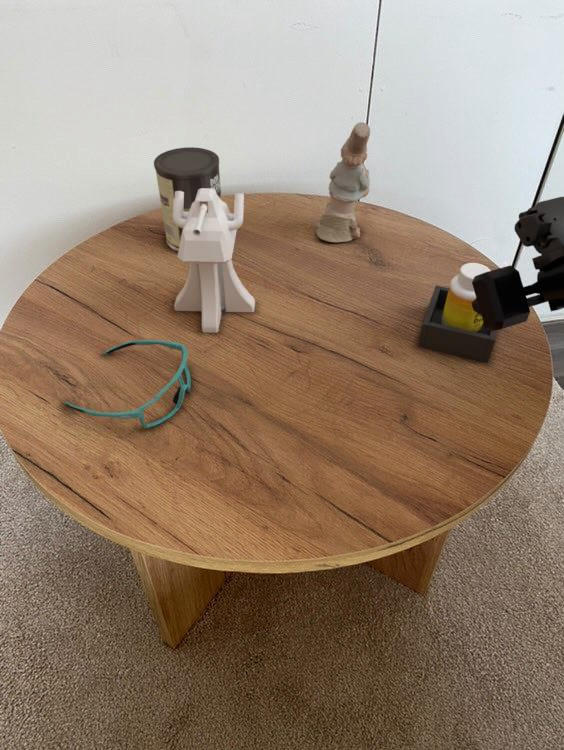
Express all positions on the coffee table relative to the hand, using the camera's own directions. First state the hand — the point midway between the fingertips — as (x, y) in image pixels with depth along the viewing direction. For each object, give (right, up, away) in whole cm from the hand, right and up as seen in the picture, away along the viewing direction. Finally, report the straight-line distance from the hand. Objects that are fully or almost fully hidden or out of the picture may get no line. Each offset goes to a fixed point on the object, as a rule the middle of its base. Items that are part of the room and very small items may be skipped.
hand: (503, 297), depth 72 cm
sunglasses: (-46, -12, +3) cm, 48 cm away
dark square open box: (-2, -4, +11) cm, 12 cm away
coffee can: (-43, +14, +30) cm, 54 cm away
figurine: (-17, +16, +31) cm, 39 cm away
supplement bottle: (-2, -3, +11) cm, 12 cm away
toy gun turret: (-38, 0, +16) cm, 41 cm away
